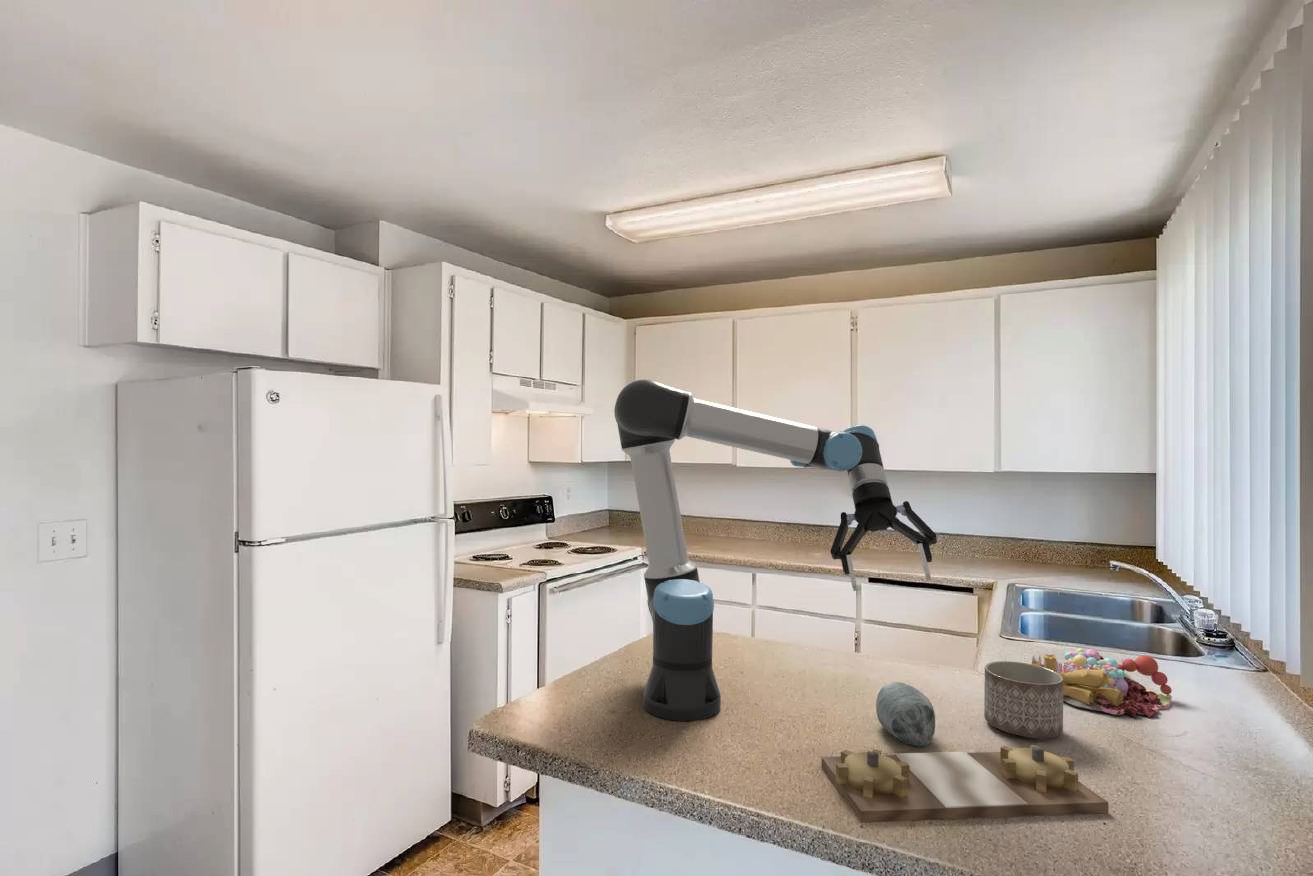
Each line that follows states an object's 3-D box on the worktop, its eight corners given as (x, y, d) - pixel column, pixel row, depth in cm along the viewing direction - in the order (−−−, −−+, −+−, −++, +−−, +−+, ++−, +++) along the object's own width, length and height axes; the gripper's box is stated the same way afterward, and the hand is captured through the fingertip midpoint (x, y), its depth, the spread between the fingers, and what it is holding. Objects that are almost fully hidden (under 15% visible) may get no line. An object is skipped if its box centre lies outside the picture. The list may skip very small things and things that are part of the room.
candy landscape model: (1147, 730, 125) (1148, 680, 125) (1012, 693, 142) (1013, 649, 142) (1180, 698, 141) (1180, 654, 141) (1055, 669, 159) (1056, 629, 159)
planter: (988, 737, 120) (988, 678, 120) (980, 711, 132) (981, 657, 132) (1070, 749, 115) (1070, 688, 116) (1054, 721, 127) (1055, 666, 127)
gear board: (858, 822, 92) (858, 781, 92) (819, 766, 108) (819, 731, 108) (1111, 812, 95) (1111, 773, 95) (1036, 760, 111) (1036, 726, 111)
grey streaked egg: (955, 735, 112) (923, 677, 115) (903, 760, 113) (872, 701, 115) (935, 723, 125) (907, 671, 128) (888, 745, 126) (861, 693, 129)
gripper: (933, 488, 142) (960, 581, 128) (813, 509, 148) (828, 600, 135) (931, 468, 136) (960, 563, 123) (807, 491, 143) (822, 584, 130)
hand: (891, 582), depth 129 cm, fingers open, 13 cm apart
